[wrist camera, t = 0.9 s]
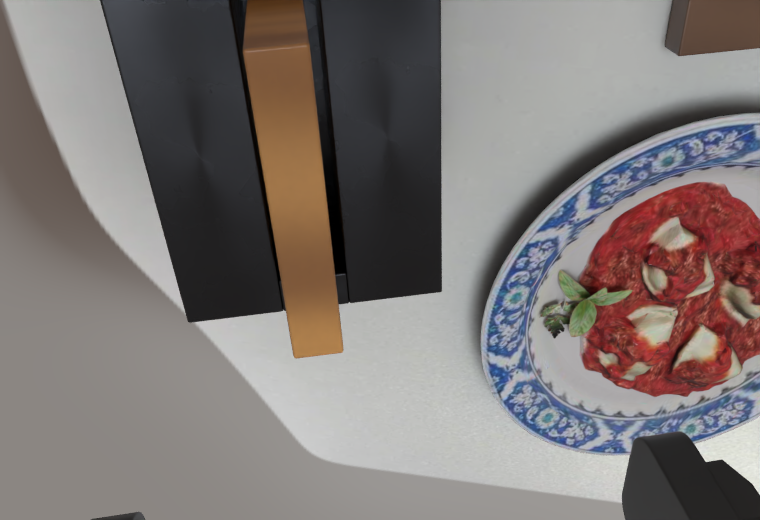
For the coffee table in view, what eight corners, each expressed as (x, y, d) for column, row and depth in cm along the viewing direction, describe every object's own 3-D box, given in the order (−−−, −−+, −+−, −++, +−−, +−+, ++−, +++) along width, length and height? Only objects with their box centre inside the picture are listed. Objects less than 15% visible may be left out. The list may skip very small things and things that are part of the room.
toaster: (132, -155, 28) (66, -117, 19) (385, -173, 28) (440, -146, 19) (207, 186, 36) (188, 323, 27) (399, 165, 37) (442, 292, 28)
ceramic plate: (965, 170, 42) (1008, 194, 40) (713, 454, 55) (733, 486, 53) (606, 32, 34) (632, 52, 32) (409, 400, 47) (417, 435, 45)
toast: (250, -44, 25) (241, 49, 17) (295, -48, 25) (309, 43, 17) (286, 202, 31) (294, 359, 23) (323, 198, 31) (344, 353, 23)
